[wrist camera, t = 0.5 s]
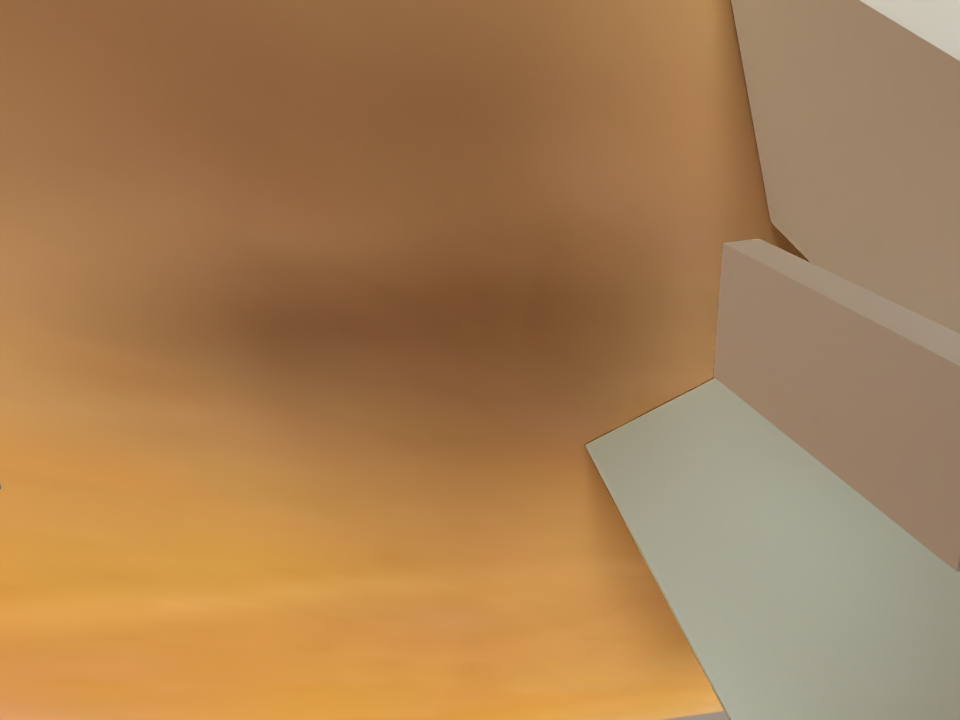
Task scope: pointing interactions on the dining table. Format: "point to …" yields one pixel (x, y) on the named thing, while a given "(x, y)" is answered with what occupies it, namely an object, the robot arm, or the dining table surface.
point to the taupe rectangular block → (862, 139)
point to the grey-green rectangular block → (782, 569)
